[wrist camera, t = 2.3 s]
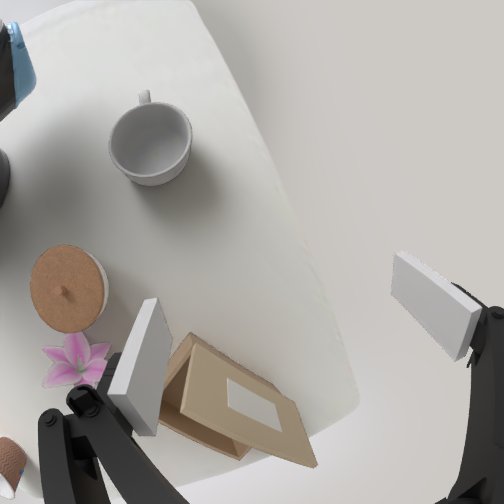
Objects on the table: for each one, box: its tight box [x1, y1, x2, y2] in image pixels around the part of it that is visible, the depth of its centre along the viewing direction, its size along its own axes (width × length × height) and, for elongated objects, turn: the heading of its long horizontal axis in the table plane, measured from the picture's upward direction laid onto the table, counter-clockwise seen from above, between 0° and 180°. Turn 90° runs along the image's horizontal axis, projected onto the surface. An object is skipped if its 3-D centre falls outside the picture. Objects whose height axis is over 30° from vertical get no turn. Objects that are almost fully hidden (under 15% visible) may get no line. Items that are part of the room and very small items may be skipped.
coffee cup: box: [0, 437, 27, 499], centre depth 21 cm, size 10×10×12 cm
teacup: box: [109, 90, 192, 186], centre depth 34 cm, size 14×11×8 cm
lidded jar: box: [30, 245, 109, 333], centre depth 30 cm, size 11×11×9 cm
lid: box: [180, 343, 318, 468], centre depth 27 cm, size 12×16×1 cm
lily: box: [42, 331, 111, 389], centre depth 31 cm, size 12×12×10 cm
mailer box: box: [158, 332, 282, 461], centre depth 35 cm, size 12×16×7 cm
